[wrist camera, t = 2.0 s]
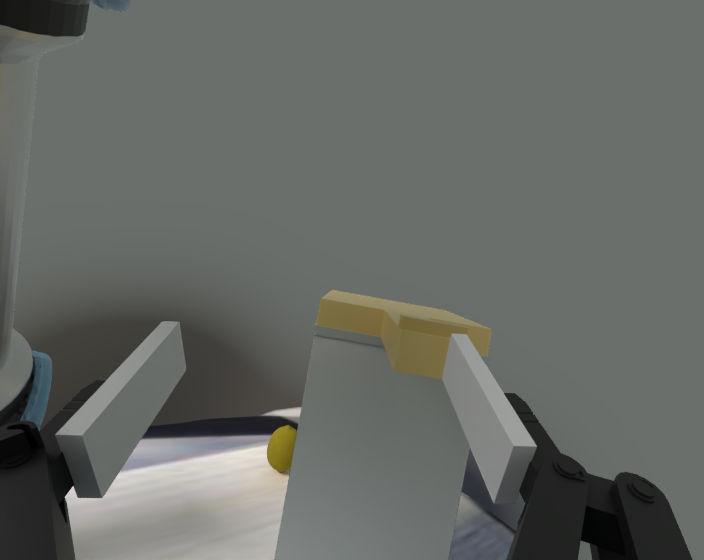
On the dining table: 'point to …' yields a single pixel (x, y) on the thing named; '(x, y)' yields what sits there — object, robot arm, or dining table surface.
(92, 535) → the dining table surface
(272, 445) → the lemon
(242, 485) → the dining table surface
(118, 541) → the dining table surface
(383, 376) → the tall white upright box
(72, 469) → the robot arm
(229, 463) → the dining table surface
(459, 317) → the paddle
